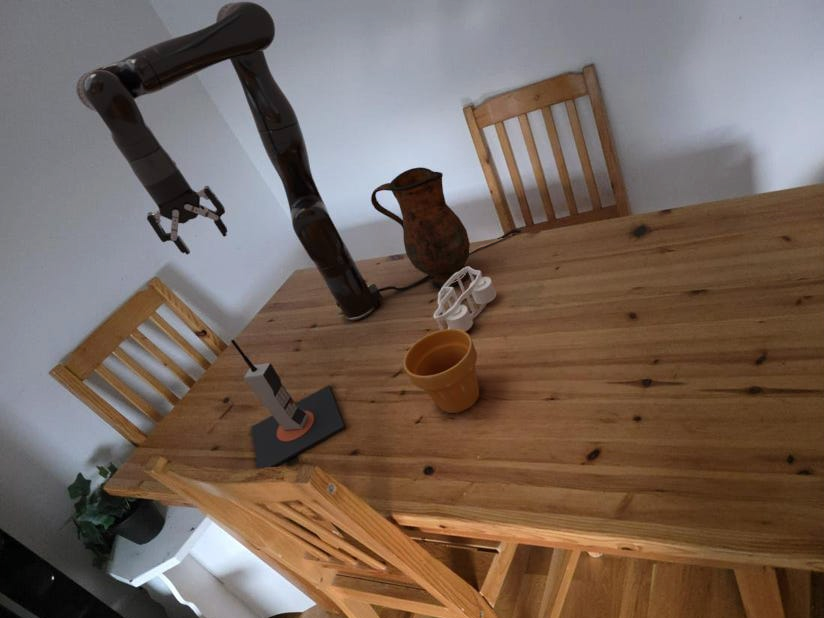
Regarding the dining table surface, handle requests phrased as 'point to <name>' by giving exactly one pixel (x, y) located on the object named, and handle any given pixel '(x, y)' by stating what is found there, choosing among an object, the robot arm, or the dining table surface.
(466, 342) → the flower pot
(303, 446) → the mat
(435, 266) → the pitcher
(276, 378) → the vintage mobile phone
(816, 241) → the dining table surface
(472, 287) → the skeletal toy car
